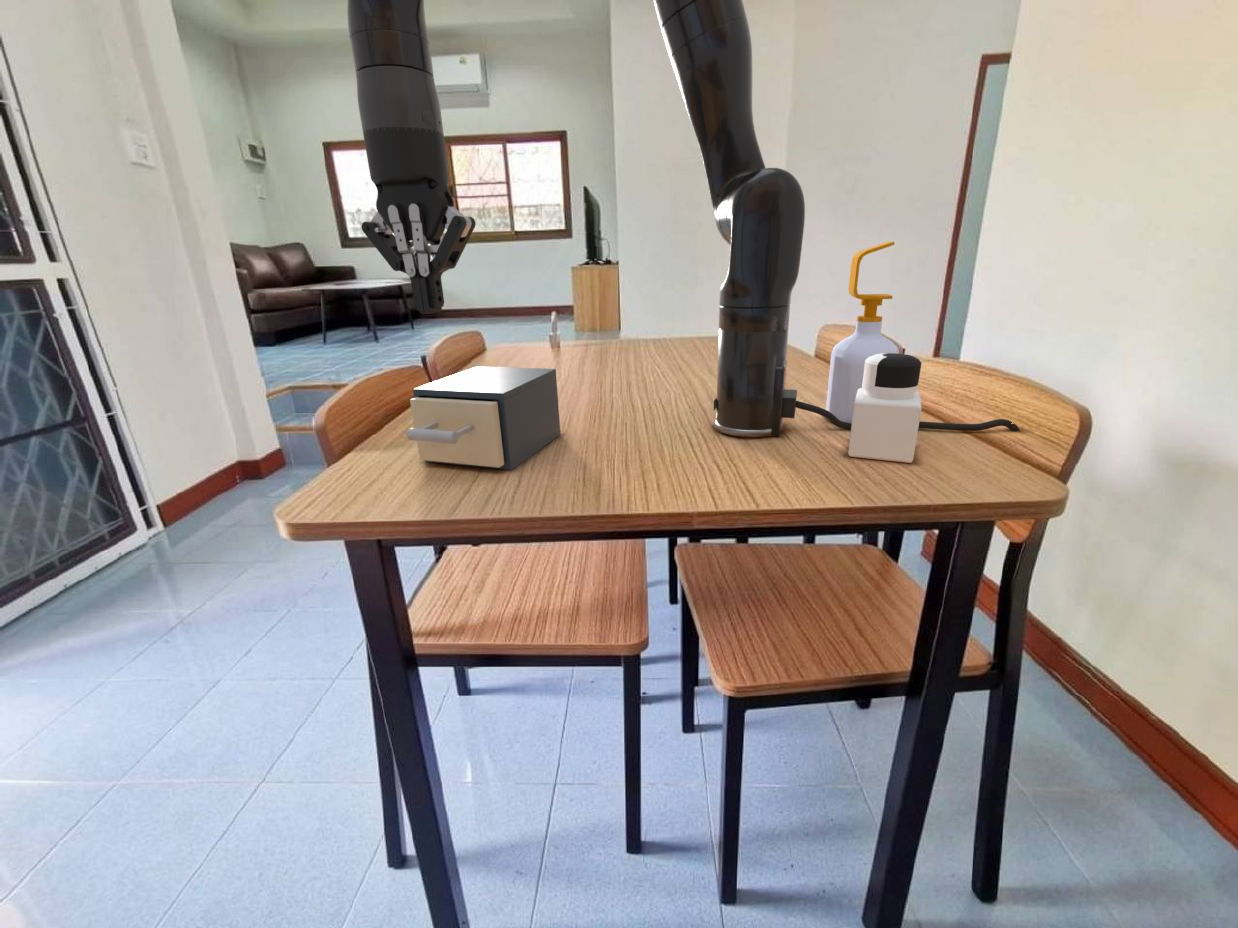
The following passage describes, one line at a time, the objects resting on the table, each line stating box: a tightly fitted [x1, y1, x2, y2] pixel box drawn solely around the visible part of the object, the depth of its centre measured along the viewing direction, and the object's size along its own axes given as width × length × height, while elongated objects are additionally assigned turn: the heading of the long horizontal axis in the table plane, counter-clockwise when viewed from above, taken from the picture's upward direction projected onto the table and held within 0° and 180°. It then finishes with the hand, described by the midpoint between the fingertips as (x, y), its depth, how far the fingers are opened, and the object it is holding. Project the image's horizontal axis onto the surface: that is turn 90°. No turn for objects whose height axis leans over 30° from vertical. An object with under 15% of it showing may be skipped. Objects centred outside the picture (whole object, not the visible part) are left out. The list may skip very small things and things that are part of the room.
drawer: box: [406, 396, 505, 468], centre depth 71 cm, size 18×11×8 cm, turn 161°
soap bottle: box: [825, 241, 900, 423], centre depth 79 cm, size 9×9×25 cm
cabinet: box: [412, 365, 561, 471], centre depth 75 cm, size 15×13×10 cm
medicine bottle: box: [847, 353, 923, 464], centre depth 68 cm, size 7×7×12 cm
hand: (430, 312), depth 61 cm, fingers closed
